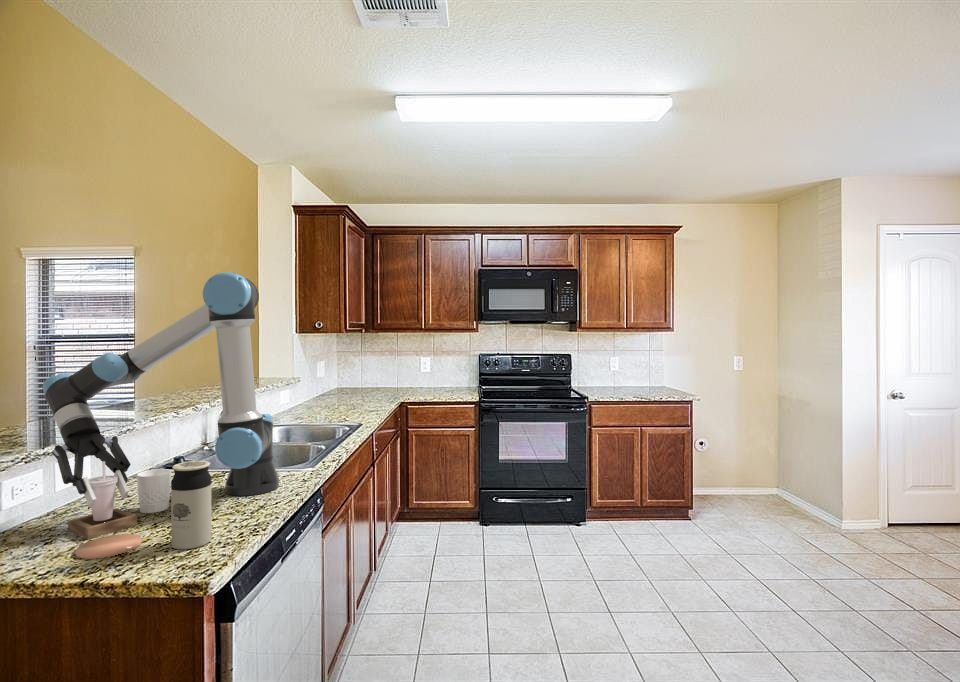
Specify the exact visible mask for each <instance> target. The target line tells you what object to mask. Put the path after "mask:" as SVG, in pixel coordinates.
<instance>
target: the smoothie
mask: <svg viewBox="0 0 960 682" xmlns="http://www.w3.org/2000/svg"><path fill="white" fill-rule="evenodd" d="M101 462H102V461H101ZM88 480H89V483H90V485H91V487H92V490H93V492H94V494H95V497H96V501H95V503H94V504H93V506H90V507H91V515H92V514H93V520H94V521H103V520H107V519H110V518H112V514H113V509H114V505H115V498H116V497H115V496H116V489H117V485H116V483H117V482H118V477H117V476H114V475H106V465H105V461H103V462H102V476H97V477H92V478H90V479H89V478H88Z"/></svg>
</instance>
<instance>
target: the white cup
mask: <svg viewBox="0 0 960 682" xmlns="http://www.w3.org/2000/svg"><path fill="white" fill-rule="evenodd" d="M171 481H172V470H171V469H169V468H168V469H167V468H158V469H156V468H155V469H149V470H145V471H141V472H139V473H137V474H136V484H137V485H136V486H137V498H138V504H139V513H141V514H155V513H159V512H163V511H166V510H168V509H169V508H170V507H169V506H170V498H171Z"/></svg>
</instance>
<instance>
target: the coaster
mask: <svg viewBox="0 0 960 682" xmlns="http://www.w3.org/2000/svg"><path fill="white" fill-rule="evenodd" d="M142 543H143V537H142V536H141V535H138V534H135V533H117V534H112V535H104V536H100V537H96V538H93V539H90V540H88V541H87V542H84V543H83V544H81V545H79V546H78V547H76V549H75V557H76V558H78V559H80V558H82V559H81V560H97V559H96V558H102V559H105V558H104V557H108V558H112V557H111V556H113V557H116V556H115V555H117V556H119V555H118V554H121V555H123V554H122V553H124V554H126V553H125V552H127V553H129V552H132V551H134V550H136V549H137V548H139V547H140V546H141V545H142ZM135 548H136V549H135ZM133 549H134V550H133ZM131 550H132V551H131ZM128 551H129V552H128Z"/></svg>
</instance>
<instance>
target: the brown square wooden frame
mask: <svg viewBox="0 0 960 682" xmlns="http://www.w3.org/2000/svg"><path fill="white" fill-rule="evenodd" d="M104 522H105V523H104ZM137 526H138V515H136V514H133V513H131V512H128V511H126V510H123V509H119V508H116V507H115V508H113V514H112V518H110V519H107V520H103V521H94V520H93V514H92V513H91V514H89V515H84V516H80V517H76V518H72V519H68V520H67V527H68V528H67V529H68V530H67V531H68V532H70V533H72V534H75V535H77V536H80V537H82V538H84V539H86V540H88V539H89V540H93V539H96V538H99V537H102V536H101V535H103V536H106V535H109V534H108V533H110V534H113V533H116V532H115V531H117V532H120V531H123V530H126V528H127V529H130V528H133V527H137ZM129 527H130V528H129ZM122 529H123V530H122ZM119 530H120V531H119ZM112 532H113V533H112ZM105 534H106V535H105ZM98 536H99V537H98ZM95 537H96V538H95Z"/></svg>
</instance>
